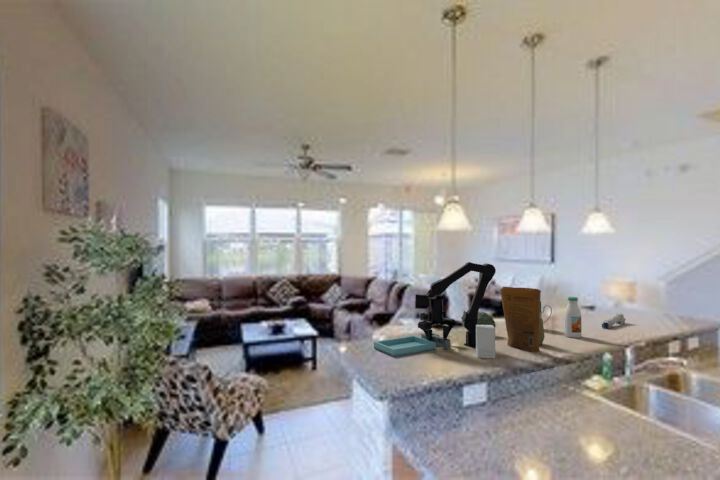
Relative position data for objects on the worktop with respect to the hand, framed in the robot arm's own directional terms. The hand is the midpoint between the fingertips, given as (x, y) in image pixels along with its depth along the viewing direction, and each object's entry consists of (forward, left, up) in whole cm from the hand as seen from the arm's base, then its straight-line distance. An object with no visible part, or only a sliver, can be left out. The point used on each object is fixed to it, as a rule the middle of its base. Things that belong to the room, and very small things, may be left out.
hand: (437, 341), depth 198 cm
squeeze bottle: (-23, -41, -2) cm, 47 cm away
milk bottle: (-23, -70, -2) cm, 74 cm away
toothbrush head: (-19, -114, -2) cm, 115 cm away
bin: (+2, +17, -1) cm, 17 cm away
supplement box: (-25, -6, -2) cm, 25 cm away
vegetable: (+6, -35, -2) cm, 36 cm away
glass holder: (-3, -70, -2) cm, 70 cm away
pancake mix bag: (-25, -29, -2) cm, 38 cm away
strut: (0, 0, -1) cm, 1 cm away
